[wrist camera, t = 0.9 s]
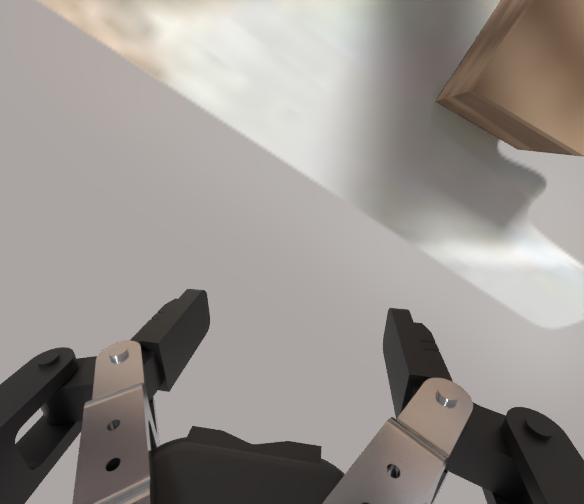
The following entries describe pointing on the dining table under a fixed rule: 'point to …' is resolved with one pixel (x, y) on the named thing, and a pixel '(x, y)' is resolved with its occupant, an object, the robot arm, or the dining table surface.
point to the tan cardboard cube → (526, 76)
